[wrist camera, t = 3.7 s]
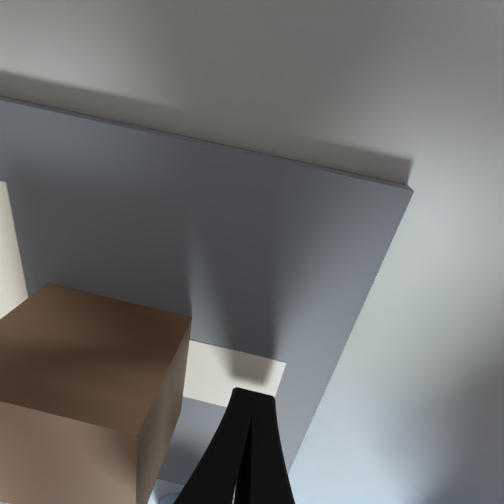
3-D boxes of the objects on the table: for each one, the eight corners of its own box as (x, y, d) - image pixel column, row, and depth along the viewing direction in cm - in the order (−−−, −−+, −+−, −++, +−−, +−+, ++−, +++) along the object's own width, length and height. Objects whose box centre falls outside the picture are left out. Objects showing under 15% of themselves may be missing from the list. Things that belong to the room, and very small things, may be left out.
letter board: (407, 185, 8) (414, 191, 8) (273, 495, 16) (272, 508, 15) (-141, 65, 9) (-167, 64, 8) (-14, 423, 16) (-23, 433, 16)
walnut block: (192, 317, 10) (137, 435, 7) (180, 412, 13) (135, 536, 9) (47, 283, 11) (-81, 380, 7) (62, 383, 13) (-27, 493, 9)
